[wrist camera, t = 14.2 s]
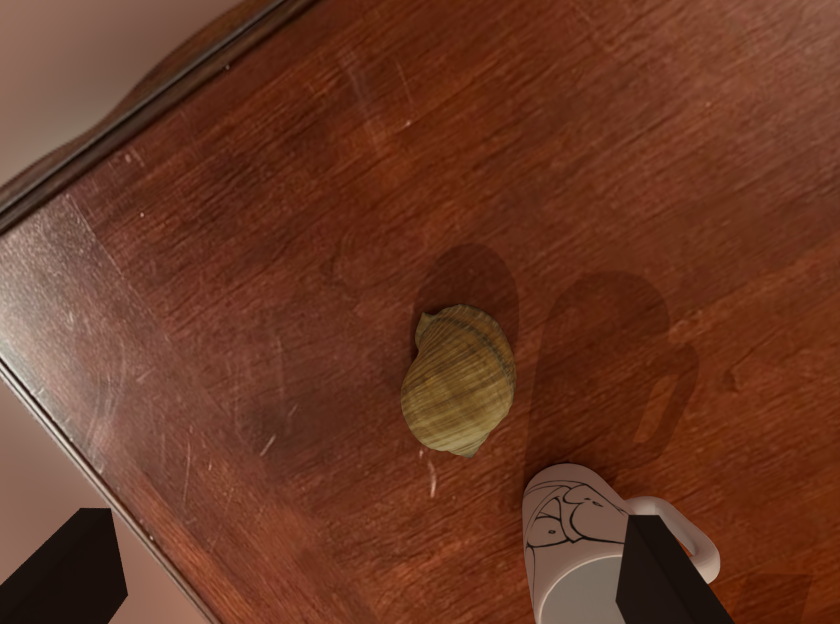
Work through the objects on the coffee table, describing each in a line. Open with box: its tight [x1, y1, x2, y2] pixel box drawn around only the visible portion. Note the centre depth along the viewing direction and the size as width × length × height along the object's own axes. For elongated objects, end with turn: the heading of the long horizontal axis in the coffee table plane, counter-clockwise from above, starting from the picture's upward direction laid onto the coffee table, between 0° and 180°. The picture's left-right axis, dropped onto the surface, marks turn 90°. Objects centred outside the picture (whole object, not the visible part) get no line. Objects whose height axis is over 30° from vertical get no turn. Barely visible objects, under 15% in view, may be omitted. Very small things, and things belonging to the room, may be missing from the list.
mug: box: [522, 463, 720, 624], centre depth 30 cm, size 11×8×10 cm
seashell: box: [401, 304, 517, 458], centre depth 30 cm, size 10×7×8 cm
